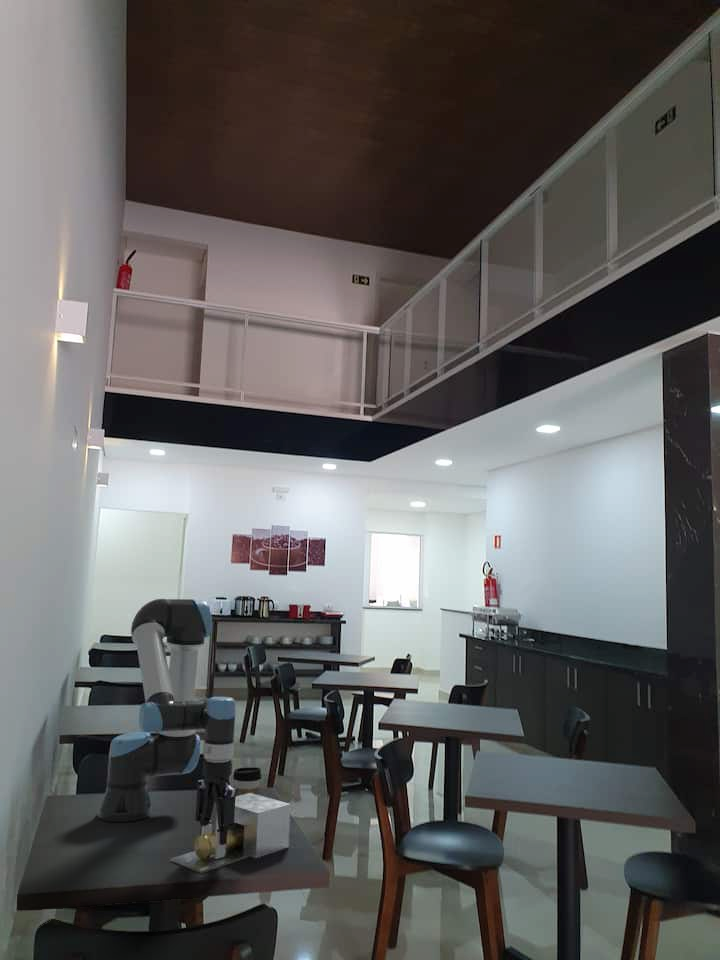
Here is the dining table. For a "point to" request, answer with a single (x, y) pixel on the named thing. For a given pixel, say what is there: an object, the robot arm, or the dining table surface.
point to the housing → (249, 832)
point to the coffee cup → (247, 780)
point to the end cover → (207, 842)
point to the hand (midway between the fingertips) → (212, 854)
